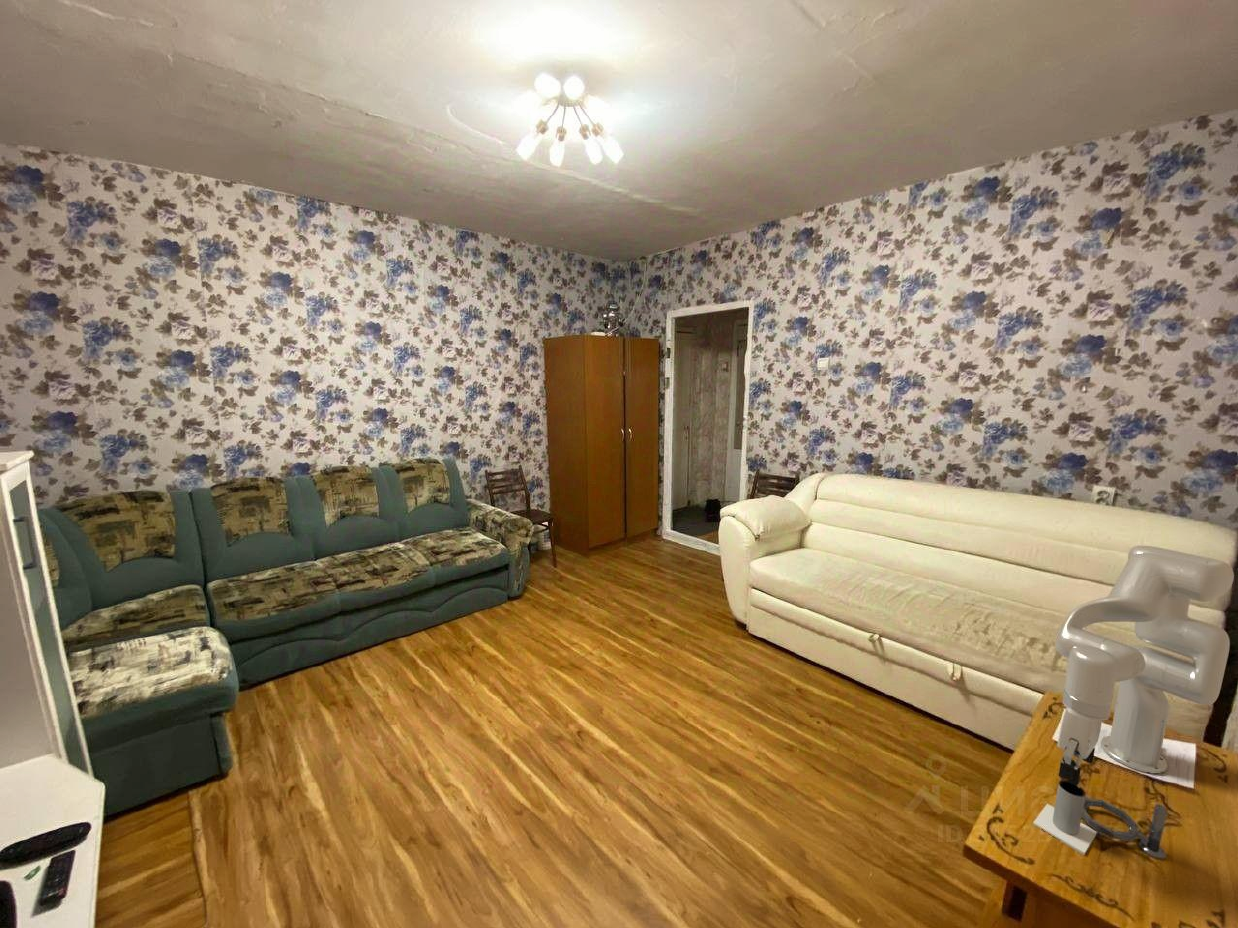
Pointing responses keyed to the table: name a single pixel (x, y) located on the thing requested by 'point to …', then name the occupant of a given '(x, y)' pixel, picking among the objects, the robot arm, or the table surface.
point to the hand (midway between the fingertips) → (1075, 769)
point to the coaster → (1073, 841)
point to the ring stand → (1131, 827)
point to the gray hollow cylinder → (1068, 807)
